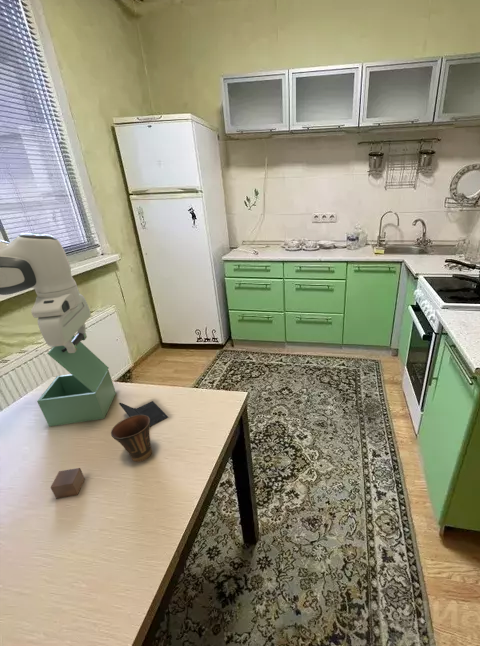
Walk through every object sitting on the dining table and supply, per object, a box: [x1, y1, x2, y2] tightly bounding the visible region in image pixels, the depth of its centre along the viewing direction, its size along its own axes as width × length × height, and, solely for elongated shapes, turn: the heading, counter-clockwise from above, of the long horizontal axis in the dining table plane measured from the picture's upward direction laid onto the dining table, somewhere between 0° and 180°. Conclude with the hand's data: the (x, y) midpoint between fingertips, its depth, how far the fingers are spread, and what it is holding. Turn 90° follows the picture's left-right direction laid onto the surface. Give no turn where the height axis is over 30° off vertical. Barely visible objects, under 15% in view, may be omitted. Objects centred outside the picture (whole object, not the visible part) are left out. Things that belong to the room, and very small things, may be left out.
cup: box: [110, 415, 153, 463], centre depth 80 cm, size 9×9×10 cm
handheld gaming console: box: [118, 400, 169, 428], centre depth 93 cm, size 12×7×10 cm
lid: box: [47, 332, 110, 393], centre depth 91 cm, size 15×13×5 cm
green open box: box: [36, 369, 117, 427], centre depth 96 cm, size 15×13×10 cm
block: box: [50, 467, 86, 499], centre depth 72 cm, size 4×4×4 cm
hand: (78, 345), depth 89 cm, fingers closed on lid, 6 cm apart
